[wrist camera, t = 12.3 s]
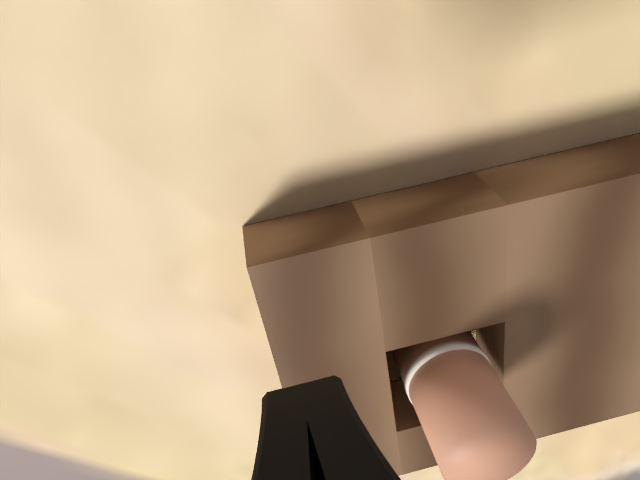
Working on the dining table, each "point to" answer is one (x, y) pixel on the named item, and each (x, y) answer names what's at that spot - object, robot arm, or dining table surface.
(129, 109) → the dining table surface
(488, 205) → the board
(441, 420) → the peg
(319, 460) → the robot arm
